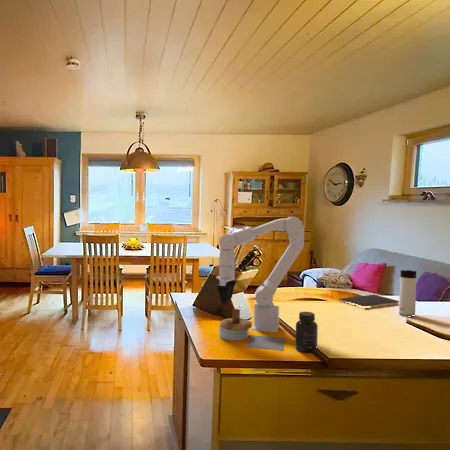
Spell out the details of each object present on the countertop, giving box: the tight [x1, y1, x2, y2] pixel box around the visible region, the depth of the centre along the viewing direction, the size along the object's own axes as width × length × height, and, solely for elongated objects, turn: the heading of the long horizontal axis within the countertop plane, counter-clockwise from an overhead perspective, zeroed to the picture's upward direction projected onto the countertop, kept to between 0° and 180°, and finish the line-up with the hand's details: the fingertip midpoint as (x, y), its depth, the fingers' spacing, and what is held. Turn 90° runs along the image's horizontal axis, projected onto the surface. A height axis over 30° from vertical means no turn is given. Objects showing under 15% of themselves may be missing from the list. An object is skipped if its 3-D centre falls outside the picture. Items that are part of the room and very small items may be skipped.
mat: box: [245, 334, 287, 352], centre depth 125 cm, size 12×12×1 cm
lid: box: [219, 308, 253, 331], centre depth 131 cm, size 11×11×6 cm
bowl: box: [218, 324, 250, 342], centre depth 132 cm, size 10×10×4 cm
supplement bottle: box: [295, 311, 319, 354], centre depth 119 cm, size 7×7×12 cm
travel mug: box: [398, 269, 417, 317], centre depth 161 cm, size 6×7×20 cm
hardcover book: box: [338, 294, 399, 308], centre depth 183 cm, size 16×23×2 cm
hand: (226, 301), depth 142 cm, fingers open, 7 cm apart
